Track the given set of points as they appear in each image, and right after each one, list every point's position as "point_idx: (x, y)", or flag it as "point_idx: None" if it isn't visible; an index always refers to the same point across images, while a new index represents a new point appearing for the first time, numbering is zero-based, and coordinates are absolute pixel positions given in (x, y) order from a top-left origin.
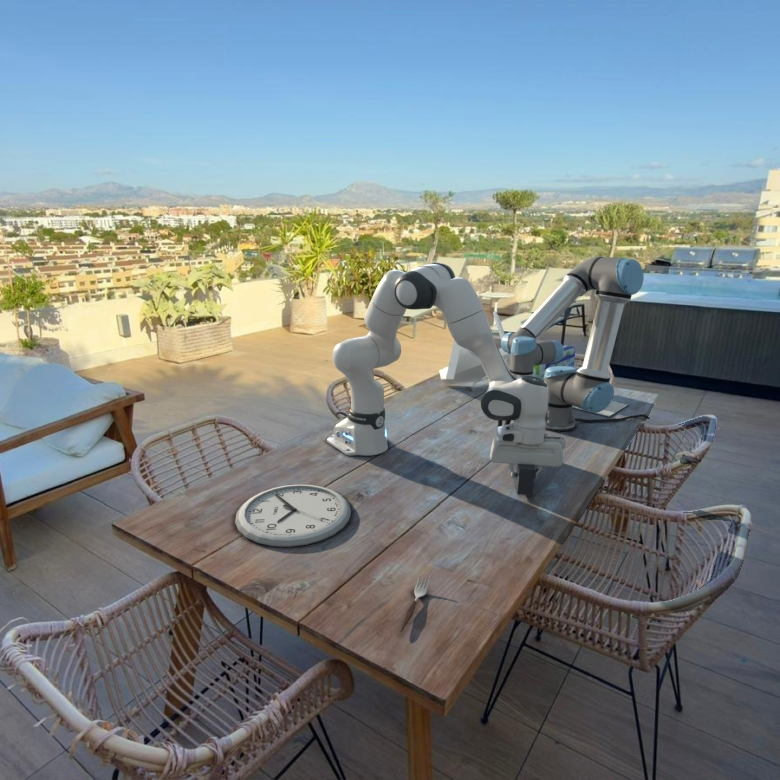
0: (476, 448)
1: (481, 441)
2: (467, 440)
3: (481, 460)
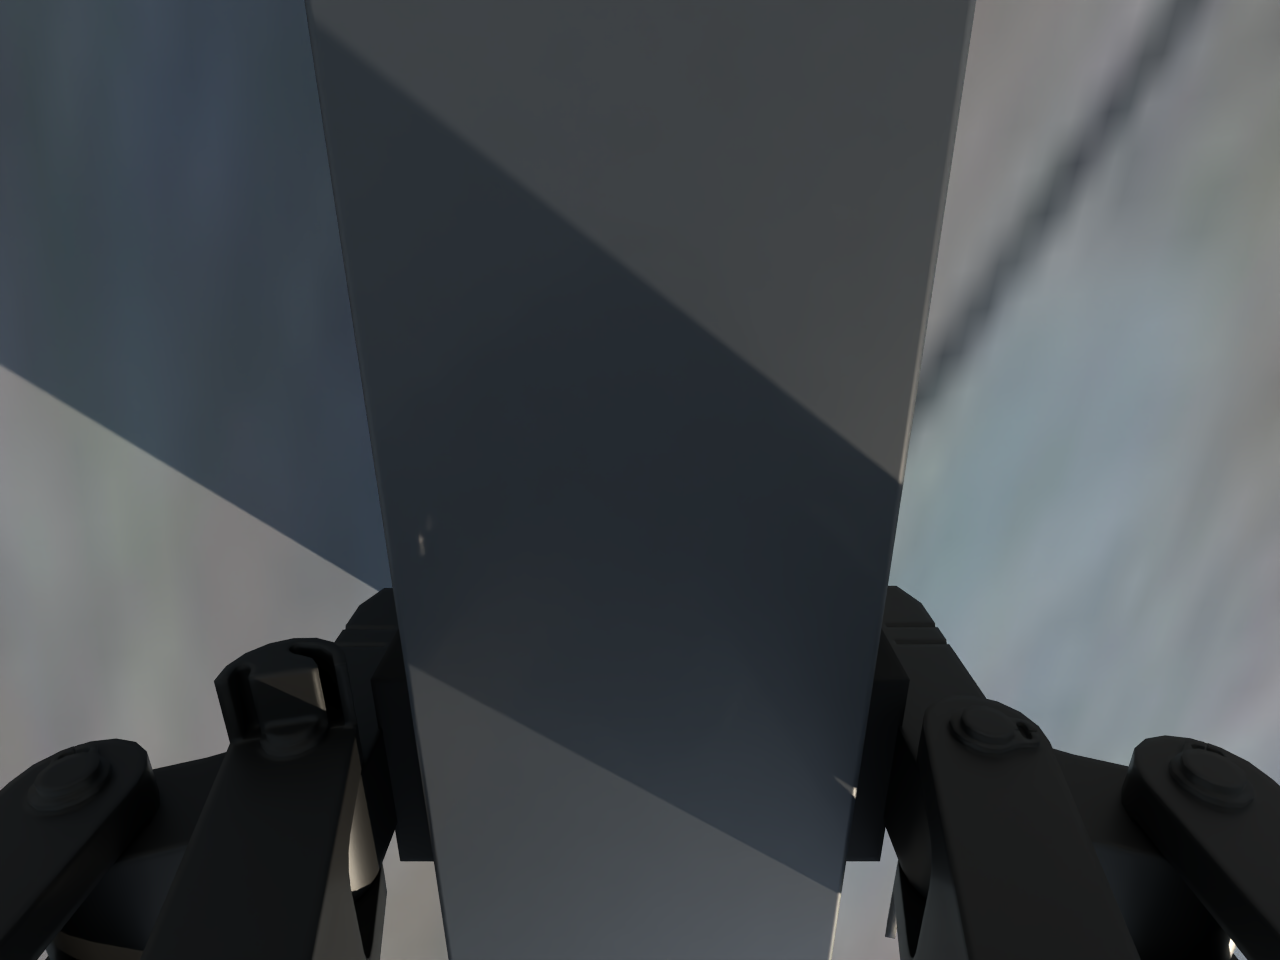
0: (1187, 602)
1: None
2: None
3: (1268, 127)
